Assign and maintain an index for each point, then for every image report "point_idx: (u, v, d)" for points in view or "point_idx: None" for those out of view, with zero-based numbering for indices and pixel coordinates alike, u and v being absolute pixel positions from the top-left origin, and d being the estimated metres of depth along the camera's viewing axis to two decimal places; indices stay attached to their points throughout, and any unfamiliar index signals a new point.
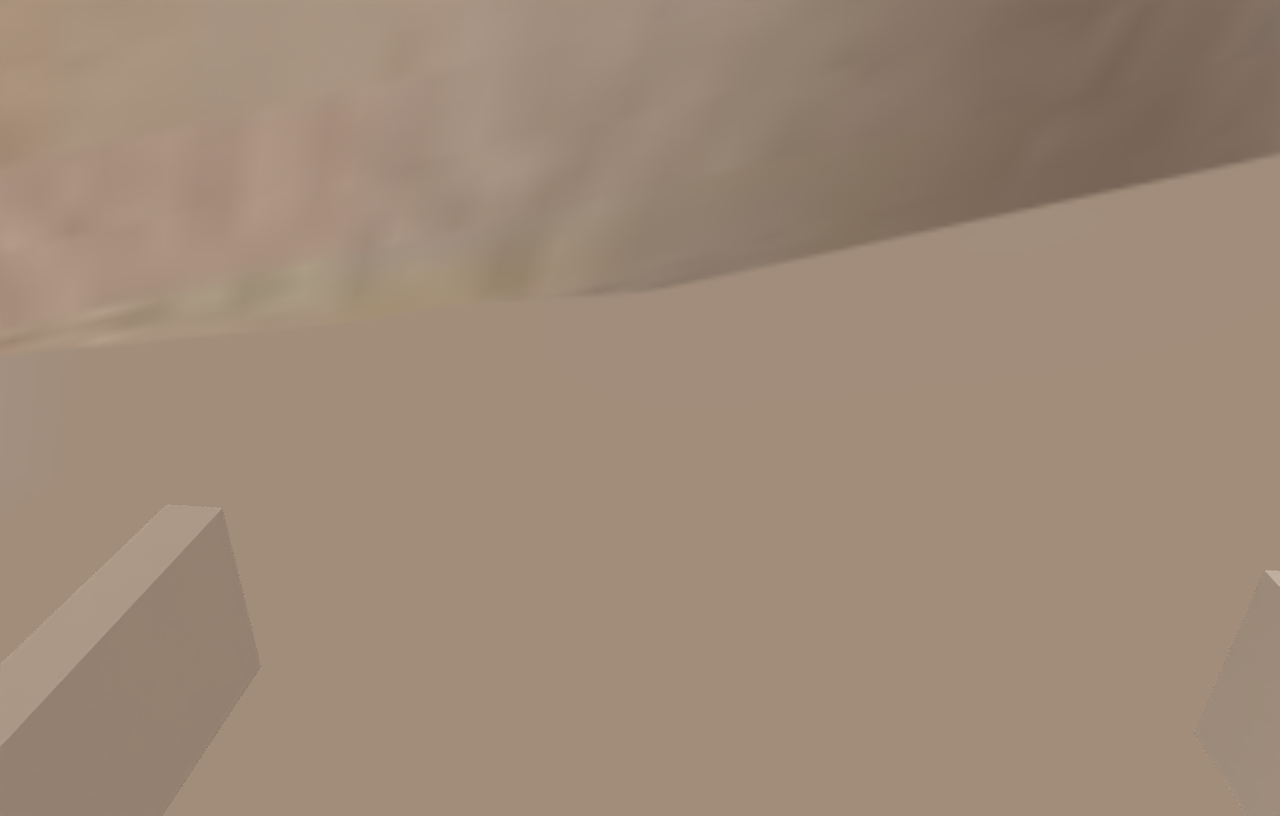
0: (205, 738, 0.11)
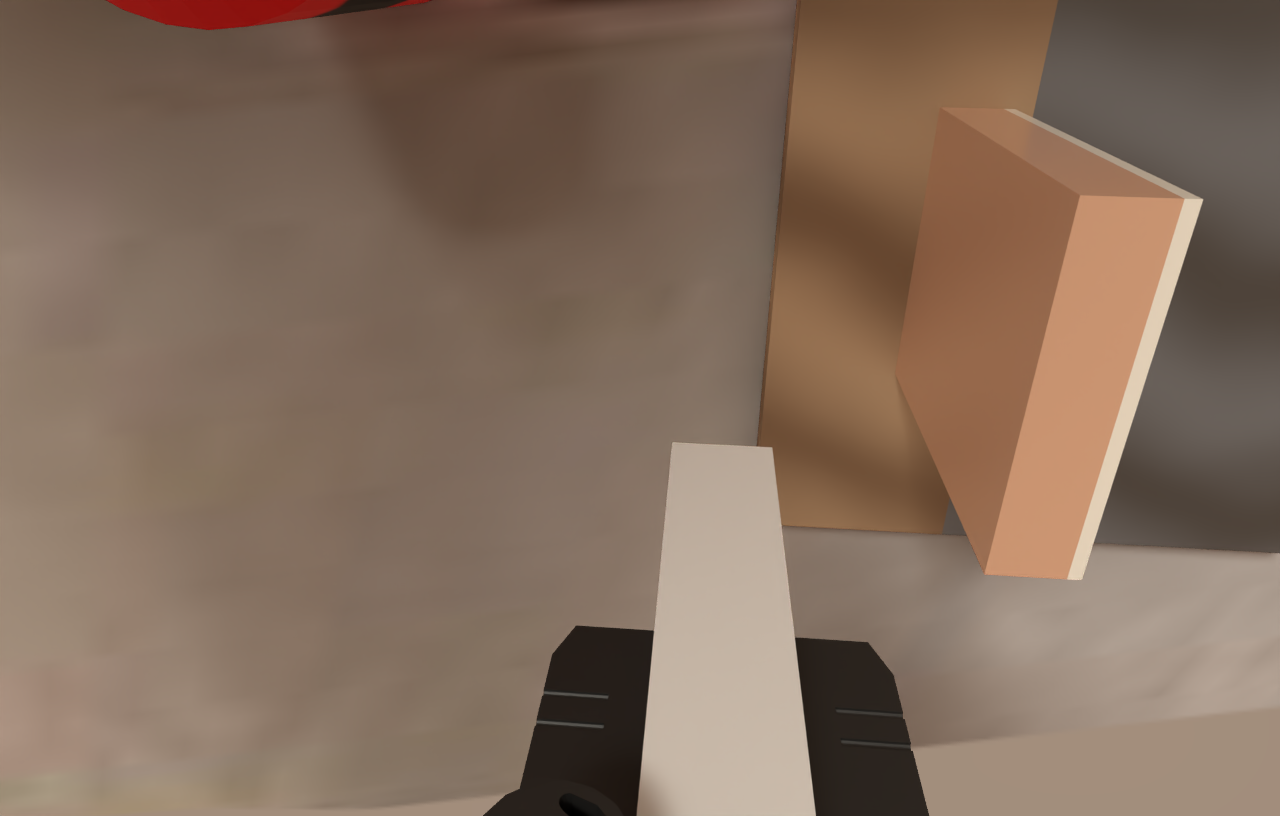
0: None
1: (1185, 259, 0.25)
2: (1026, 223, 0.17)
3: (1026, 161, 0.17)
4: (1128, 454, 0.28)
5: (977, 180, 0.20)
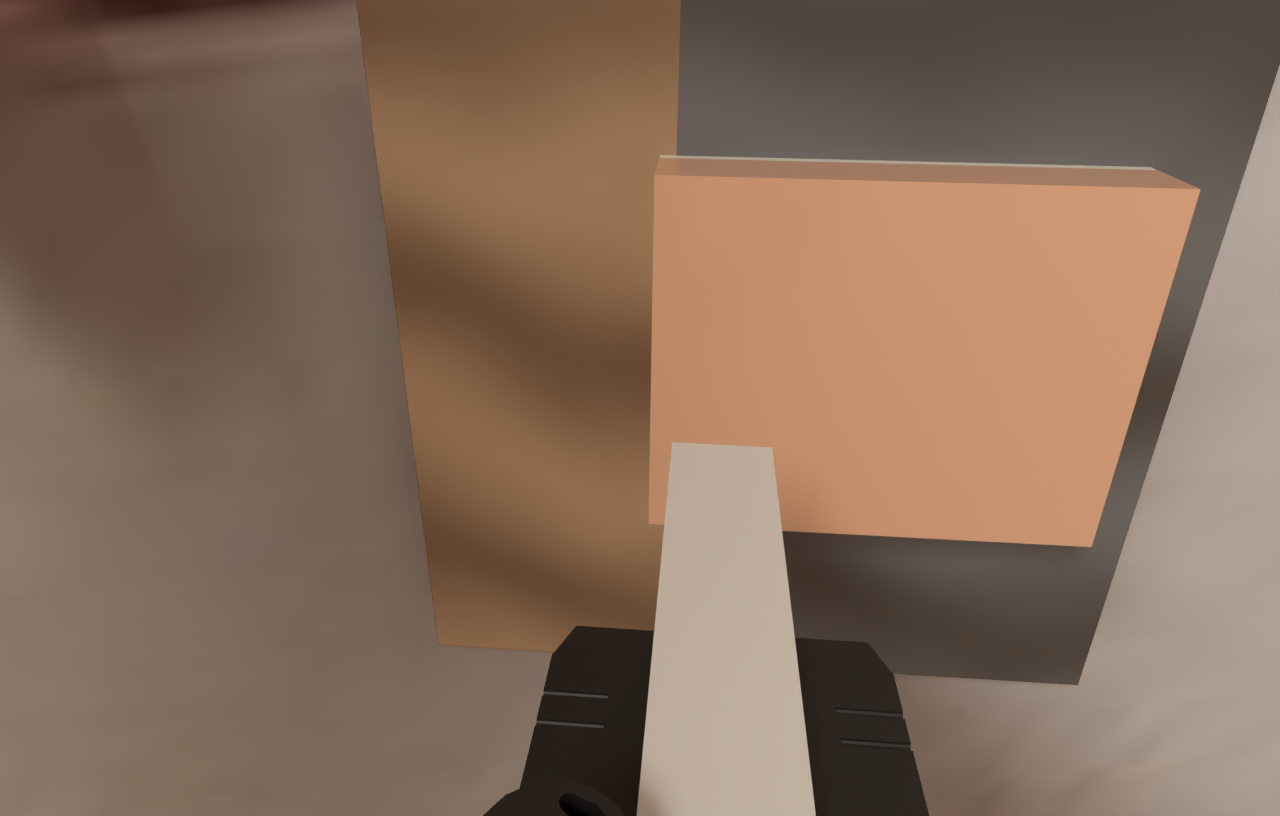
0: None
1: None
2: (1072, 241, 0.16)
3: (1042, 185, 0.16)
4: (867, 570, 0.22)
5: (883, 233, 0.16)
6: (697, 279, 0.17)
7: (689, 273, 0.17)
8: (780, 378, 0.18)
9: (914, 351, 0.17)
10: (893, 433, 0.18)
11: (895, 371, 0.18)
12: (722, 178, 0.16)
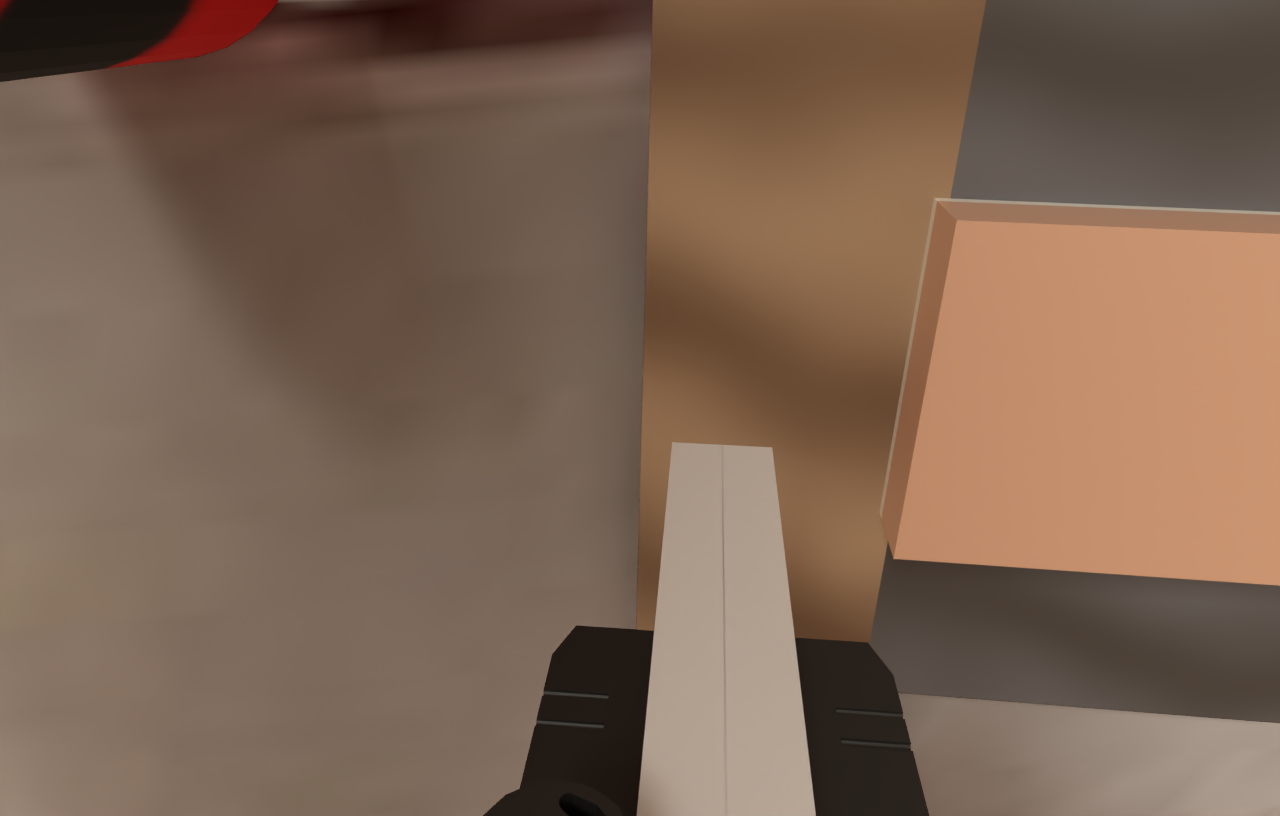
0: None
1: None
2: None
3: None
4: (1082, 605, 0.23)
5: (1178, 280, 0.17)
6: (983, 321, 0.17)
7: (976, 315, 0.17)
8: (1051, 419, 0.18)
9: (1191, 395, 0.18)
10: (1157, 475, 0.19)
11: (1169, 414, 0.18)
12: (1024, 224, 0.16)
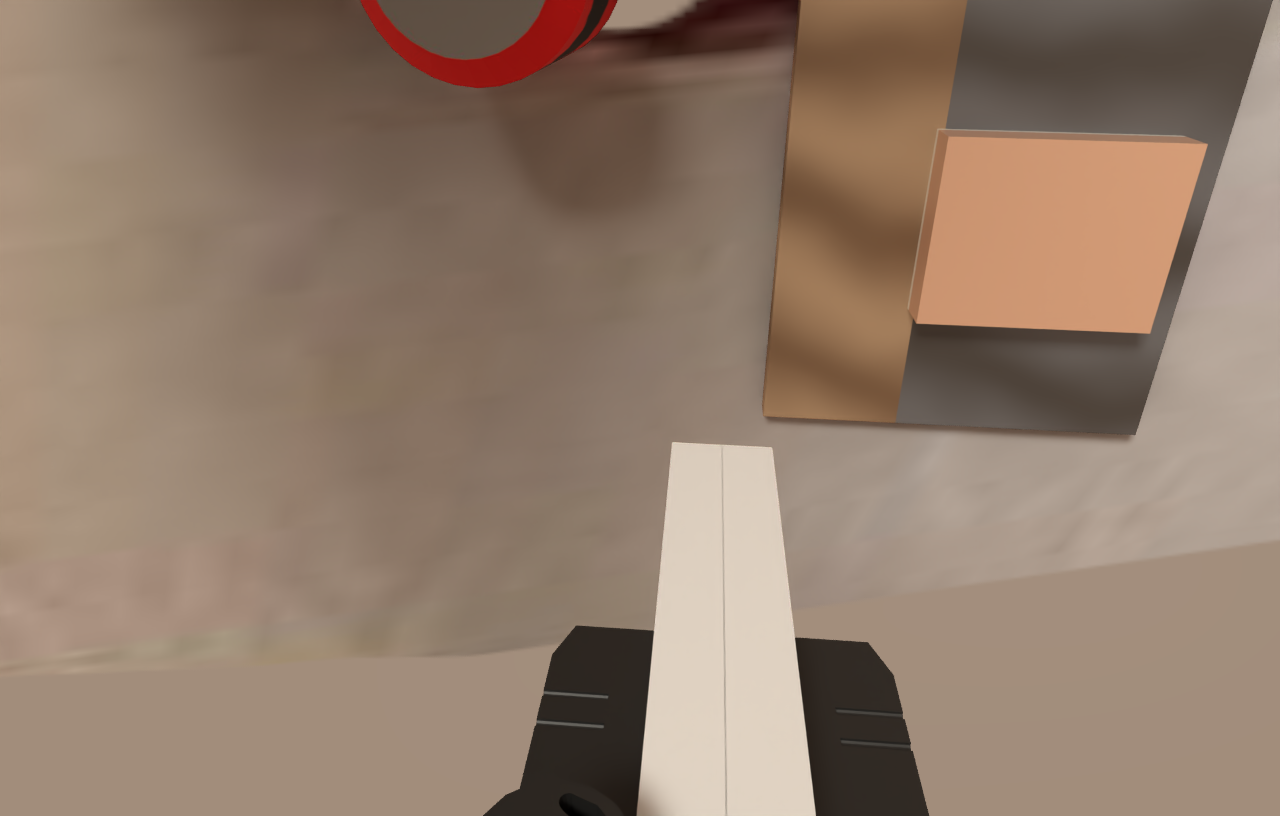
0: None
1: None
2: (1146, 169, 0.34)
3: (1133, 142, 0.34)
4: (1020, 362, 0.40)
5: (1056, 165, 0.34)
6: (962, 188, 0.35)
7: (958, 185, 0.35)
8: (997, 240, 0.36)
9: (1066, 225, 0.35)
10: (1051, 270, 0.36)
11: (1055, 236, 0.36)
12: (981, 138, 0.34)
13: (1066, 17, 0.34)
